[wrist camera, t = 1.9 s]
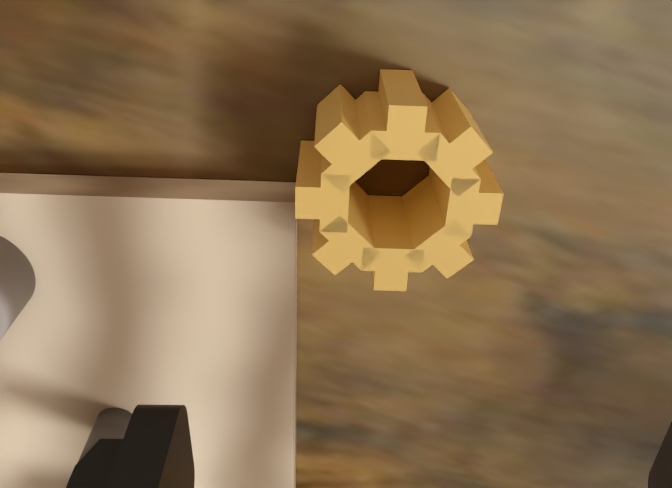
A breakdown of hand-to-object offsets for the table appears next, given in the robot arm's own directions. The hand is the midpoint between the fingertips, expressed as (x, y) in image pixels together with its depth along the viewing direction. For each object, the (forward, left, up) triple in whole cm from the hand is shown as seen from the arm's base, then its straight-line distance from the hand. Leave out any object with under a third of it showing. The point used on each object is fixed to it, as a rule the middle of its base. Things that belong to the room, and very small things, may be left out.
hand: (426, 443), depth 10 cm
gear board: (+10, +12, -12) cm, 19 cm away
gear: (0, 0, -12) cm, 12 cm away
